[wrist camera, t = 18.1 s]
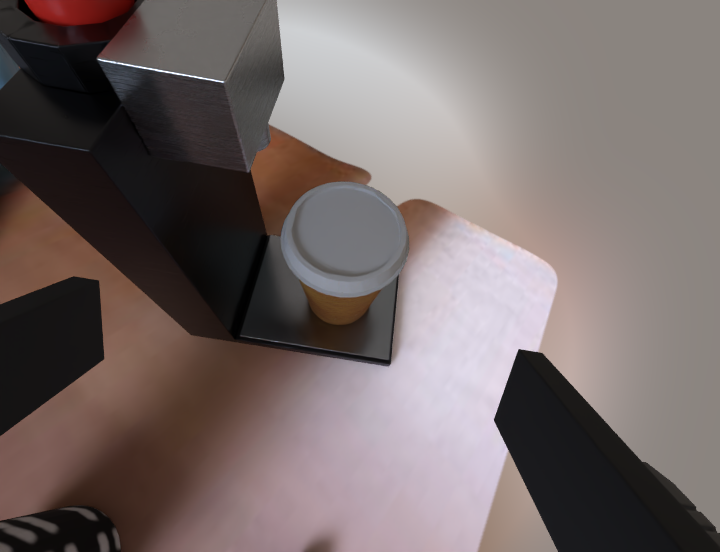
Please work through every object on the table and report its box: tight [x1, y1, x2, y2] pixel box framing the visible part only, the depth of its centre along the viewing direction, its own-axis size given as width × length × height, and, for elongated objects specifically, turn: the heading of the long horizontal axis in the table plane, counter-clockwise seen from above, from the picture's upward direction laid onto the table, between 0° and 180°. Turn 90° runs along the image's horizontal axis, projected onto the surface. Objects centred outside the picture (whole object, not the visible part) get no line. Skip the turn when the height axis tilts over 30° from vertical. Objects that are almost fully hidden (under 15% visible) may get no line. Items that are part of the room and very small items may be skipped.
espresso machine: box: [97, 0, 399, 366], centre depth 25 cm, size 12×15×26 cm
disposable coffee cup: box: [281, 182, 409, 325], centre depth 30 cm, size 10×10×12 cm
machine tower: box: [0, 0, 267, 342], centre depth 25 cm, size 12×6×26 cm, turn 172°
